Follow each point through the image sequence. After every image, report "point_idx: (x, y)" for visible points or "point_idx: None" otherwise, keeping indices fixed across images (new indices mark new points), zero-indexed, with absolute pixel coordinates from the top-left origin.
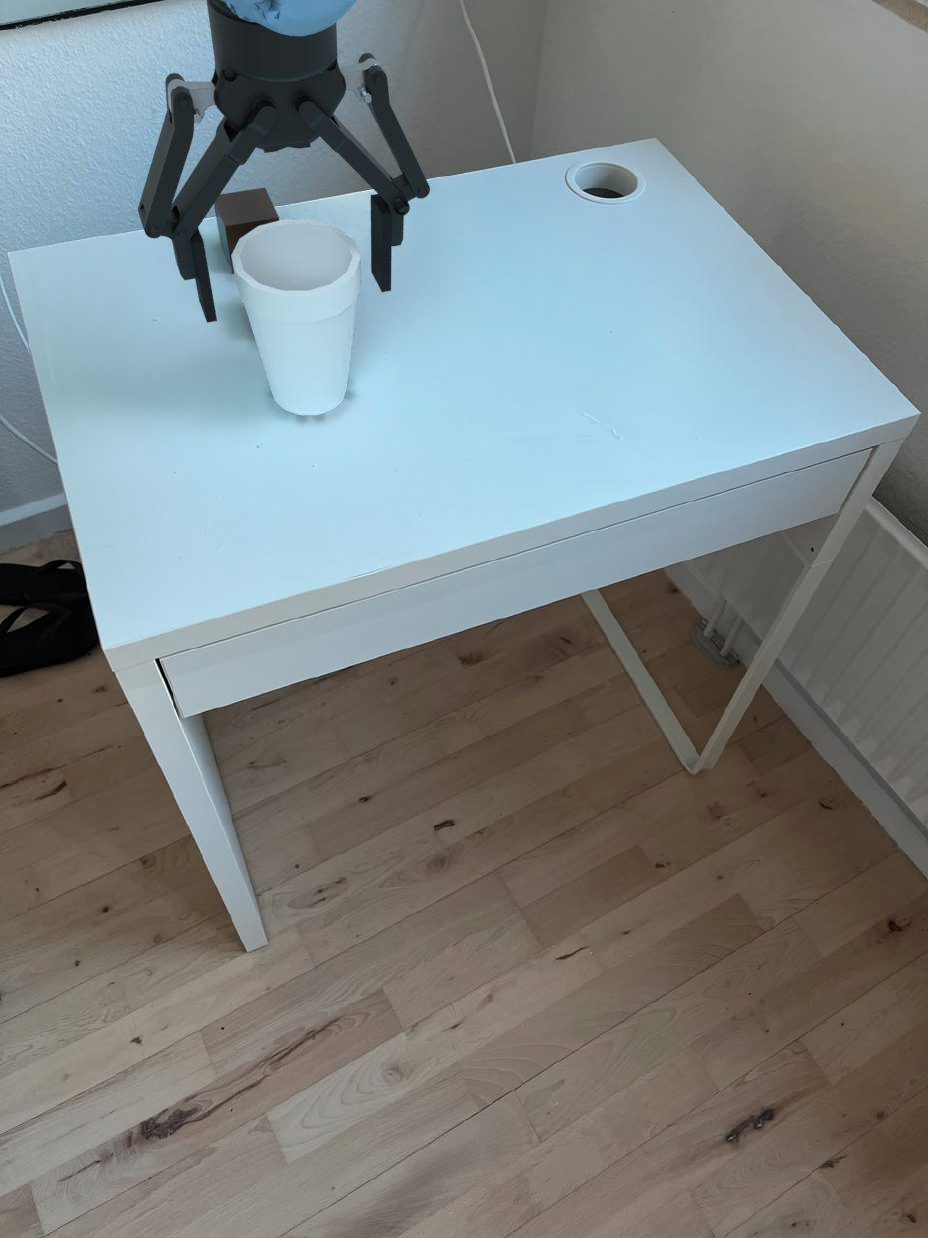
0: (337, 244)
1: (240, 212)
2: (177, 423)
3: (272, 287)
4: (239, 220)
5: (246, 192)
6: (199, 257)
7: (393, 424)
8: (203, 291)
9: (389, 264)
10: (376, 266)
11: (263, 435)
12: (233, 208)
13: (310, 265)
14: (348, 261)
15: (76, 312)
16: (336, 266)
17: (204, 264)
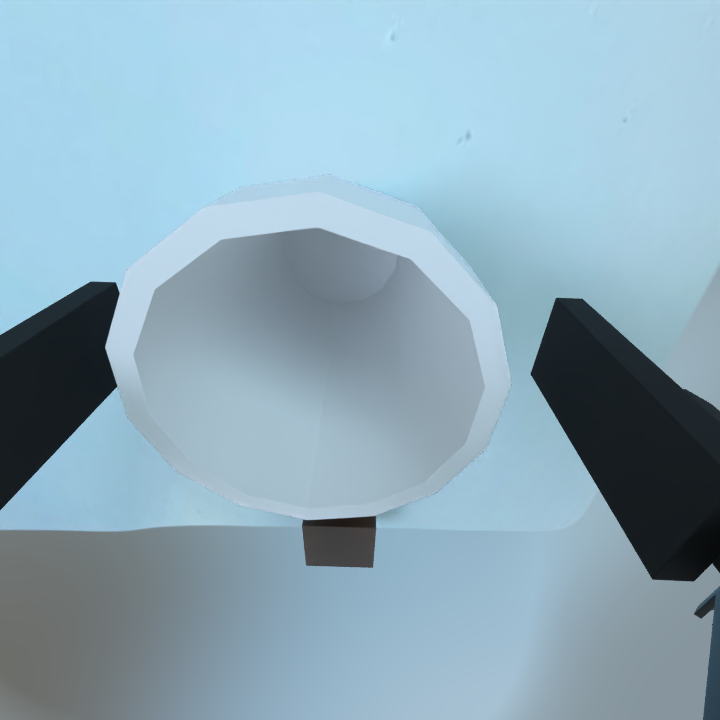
0: (189, 425)
1: (348, 541)
2: (558, 240)
3: (367, 392)
4: (354, 531)
5: (331, 563)
6: (713, 429)
7: (218, 106)
8: (629, 346)
9: (36, 318)
10: (103, 345)
11: (448, 163)
12: (355, 547)
13: (279, 411)
14: (168, 366)
15: (565, 461)
16: (218, 385)
17: (671, 406)
